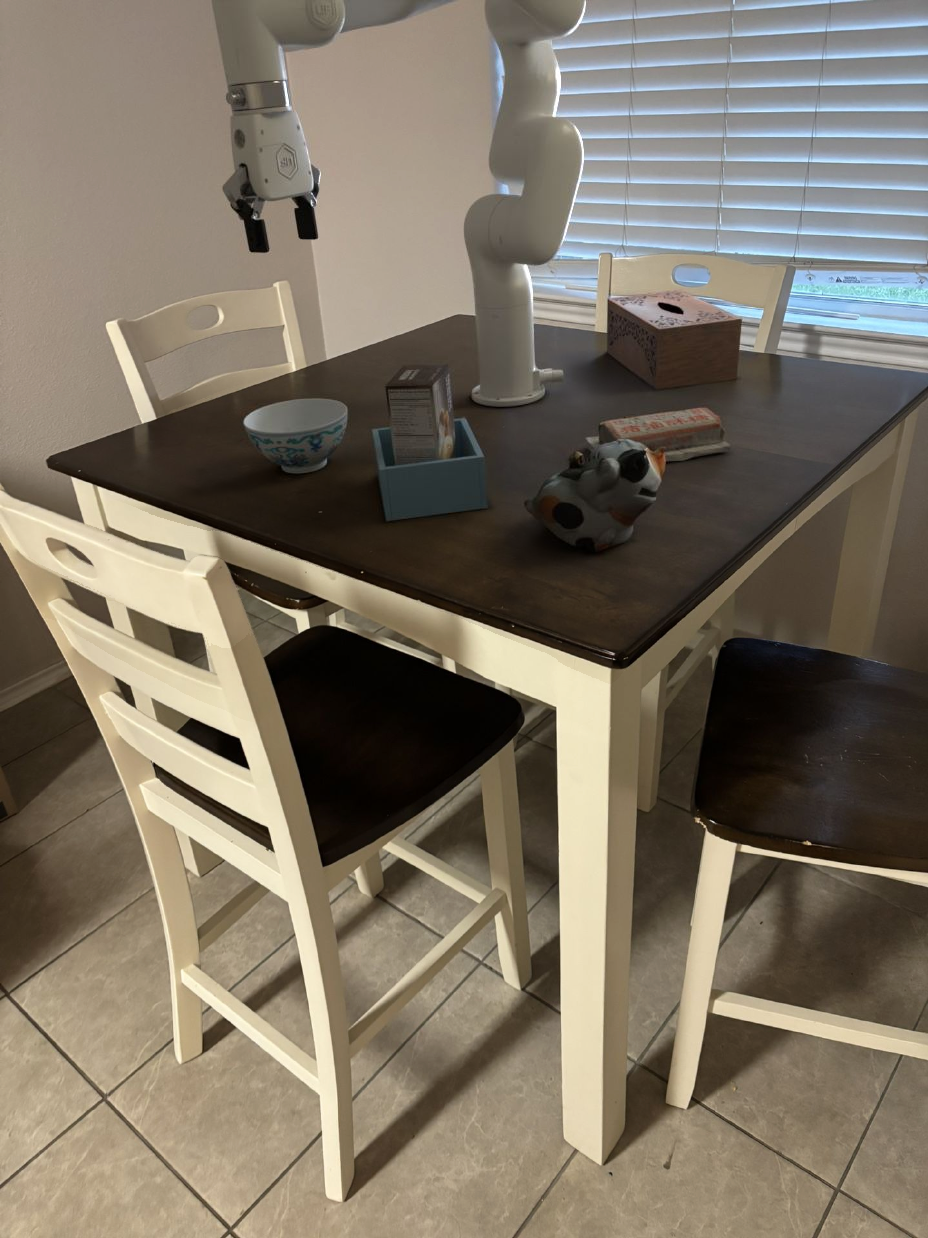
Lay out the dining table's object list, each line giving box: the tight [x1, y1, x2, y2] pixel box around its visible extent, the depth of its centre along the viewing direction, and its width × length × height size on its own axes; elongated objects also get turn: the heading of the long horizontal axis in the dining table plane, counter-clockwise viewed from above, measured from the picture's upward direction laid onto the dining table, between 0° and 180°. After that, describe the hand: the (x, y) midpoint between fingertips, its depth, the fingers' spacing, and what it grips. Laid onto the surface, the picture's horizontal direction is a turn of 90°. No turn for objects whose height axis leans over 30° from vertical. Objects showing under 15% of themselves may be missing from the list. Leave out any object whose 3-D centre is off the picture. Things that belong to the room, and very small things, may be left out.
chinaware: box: [242, 398, 349, 474], centre depth 131 cm, size 15×15×8 cm
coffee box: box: [384, 363, 457, 466], centre depth 117 cm, size 9×6×16 cm
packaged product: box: [585, 407, 732, 462], centre depth 126 cm, size 18×5×10 cm
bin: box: [371, 417, 488, 522], centre depth 119 cm, size 13×16×7 cm
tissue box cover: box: [606, 289, 743, 391], centre depth 160 cm, size 26×14×10 cm, turn 11°
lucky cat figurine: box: [523, 439, 667, 553], centre depth 103 cm, size 15×12×14 cm
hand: (284, 245), depth 121 cm, fingers open, 9 cm apart
